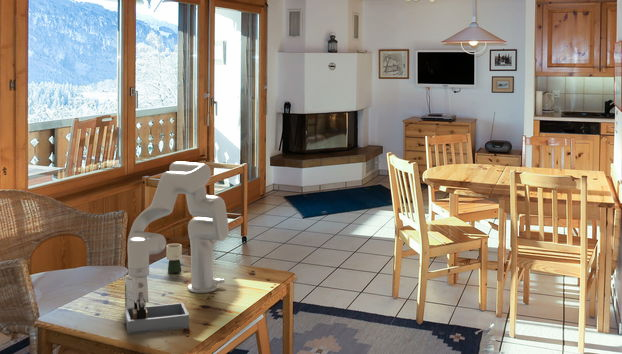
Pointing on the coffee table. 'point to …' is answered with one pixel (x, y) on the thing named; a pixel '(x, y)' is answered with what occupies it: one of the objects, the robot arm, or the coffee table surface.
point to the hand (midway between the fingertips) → (140, 315)
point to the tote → (158, 319)
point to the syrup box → (129, 293)
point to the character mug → (174, 257)
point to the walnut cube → (136, 314)
